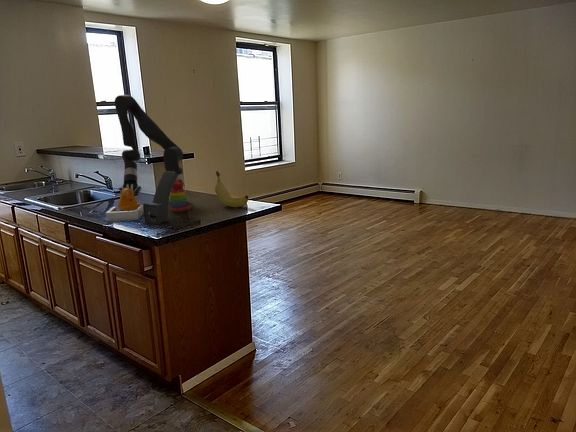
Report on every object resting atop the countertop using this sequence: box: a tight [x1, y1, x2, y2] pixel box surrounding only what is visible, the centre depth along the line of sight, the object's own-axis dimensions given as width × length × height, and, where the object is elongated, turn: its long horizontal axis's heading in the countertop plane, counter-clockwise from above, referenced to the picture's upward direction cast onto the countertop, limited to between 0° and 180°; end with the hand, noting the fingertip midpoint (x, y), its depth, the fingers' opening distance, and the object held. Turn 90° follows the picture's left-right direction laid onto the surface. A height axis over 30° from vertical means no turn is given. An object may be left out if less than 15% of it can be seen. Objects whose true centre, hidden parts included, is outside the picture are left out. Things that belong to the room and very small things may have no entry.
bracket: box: [105, 204, 144, 222], centre depth 235 cm, size 16×14×4 cm
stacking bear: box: [169, 179, 192, 213], centre depth 246 cm, size 11×10×18 cm
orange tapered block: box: [117, 188, 142, 211], centre depth 252 cm, size 11×7×12 cm, turn 136°
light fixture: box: [142, 170, 178, 226], centre depth 224 cm, size 11×17×24 cm, turn 147°
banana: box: [214, 171, 249, 208], centre depth 250 cm, size 23×6×20 cm, turn 58°
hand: (130, 201), depth 255 cm, fingers closed
